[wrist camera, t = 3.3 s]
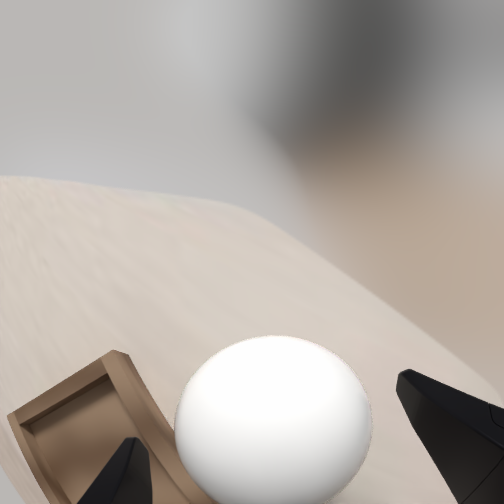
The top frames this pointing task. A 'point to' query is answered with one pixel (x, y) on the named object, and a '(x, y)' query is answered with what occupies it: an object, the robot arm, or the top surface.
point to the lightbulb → (273, 423)
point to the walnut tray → (99, 433)
